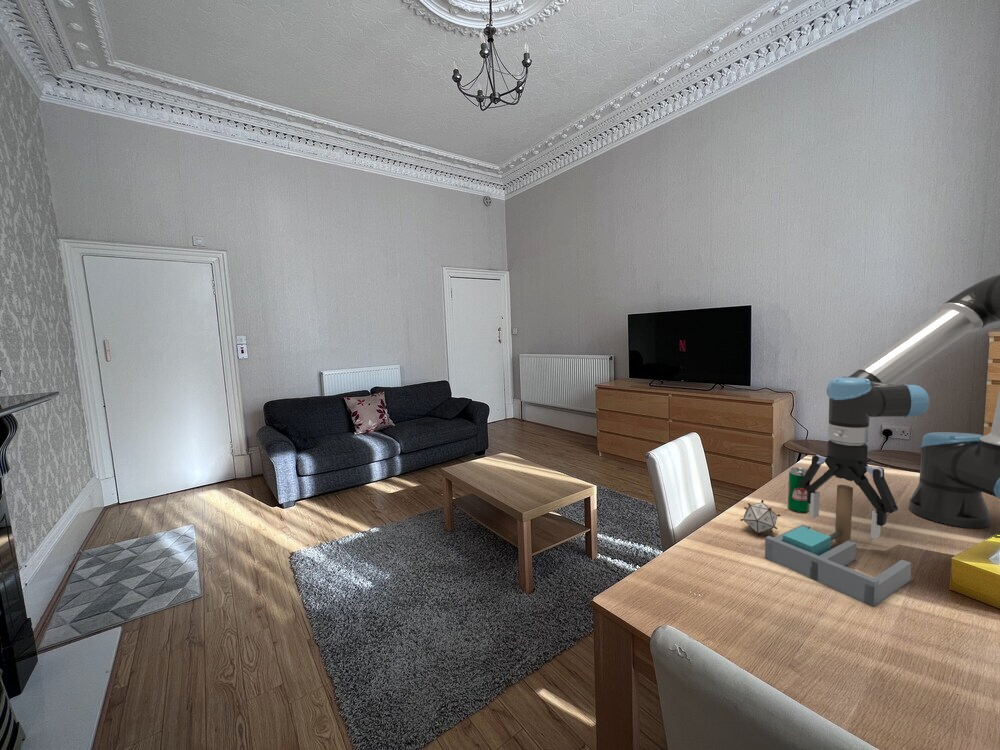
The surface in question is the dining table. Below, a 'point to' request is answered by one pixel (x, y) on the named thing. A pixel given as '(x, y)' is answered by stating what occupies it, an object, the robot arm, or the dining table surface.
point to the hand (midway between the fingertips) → (843, 526)
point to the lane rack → (838, 569)
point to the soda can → (797, 491)
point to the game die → (760, 517)
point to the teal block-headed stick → (822, 542)
